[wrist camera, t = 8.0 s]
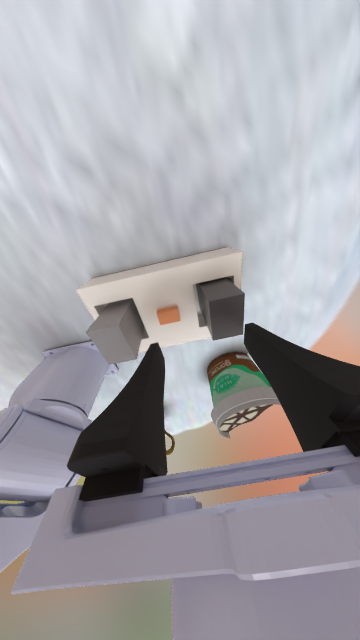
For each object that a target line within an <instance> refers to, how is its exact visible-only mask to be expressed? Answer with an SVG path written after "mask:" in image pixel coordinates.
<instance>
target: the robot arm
mask: <svg viewBox="0 0 360 640" xmlns="http://www.w3.org/2000/svg"><path fill="white" fill-rule="evenodd" d="M92 343H93V342H92V341H89V342H84V343H79V344H75V345H70V346H65V347H61V348H56V349H51V350H46V351H44V352H43V353H42V355H43V356H44V357H45V359H44V360H43V361H42V362H41V363H40V364H39V365H38V366H37V367H36V368H35V369H34V370H33V371H32V372H31V373H30V375H29V376H28V377H27V378H26V379H25V380H24V381H23V382H22V383H21V384H20V385H19V386H18V387H17V388H16V390H15V391H14V393H13V394H12V396H11V398H10V401H9V406H8V408H5V409H3V410H2V411H0V500H8V501H25V502H23V503H18V504H8V503H0V572H1V571H3V570H4V569H5V568H6V567H7V566H8V565H9V564H10V563H12V562H13V561H14V560H15V559H16V558H18V557H19V556H20V555H21V554H22V553H23V552H25V551H26V550H27V549H28V548H29V547H30V549H29V551H28V553H27V556H26V558H25V560H24V563H23V565H22V567H21V570H20V572H19V574H18V577H17V579H16V581H15V584H14V586H13V588H12V594H19V593H26V592H34V591H42V590H50V589H59V588H69V587H80V586H91V585H102V584H103V585H104V584H115V583H126V582H138V581H148V580H160V579H171V586H172V587H171V589H172V590H171V592H172V593H171V595H172V640H360V366H356V365H353V364H349V363H346V362H342V361H339V360H336V359H333V358H330V357H326V356H324V355H321V354H318V353H315V352H312V351H310V350H307V349H305V348H302V347H300V346H298V345H295V344H293V343H291V342H289V341H287V340H284V339H282V338H280V337H278V336H277V335H275V334H273V333H271V332H269V331H267V330H265V329H264V328H262V327H260V326H258V325H256V324H254V323H249V324H245V334H244V344H245V346H246V348H247V350H248V352H249V354H250V355H251V357H252V358H253V360H254V361H255V363H256V364H257V366H258V367H259V369H260V370H261V371H262V373H263V374H264V376H265V377H266V379H267V380H268V382H269V384H270V385H271V387H272V389H273V391H274V392H275V394H276V396H277V398H278V400H279V402H280V404H281V406H282V407H283V409H284V411H285V413H286V415H287V417H288V419H289V421H290V423H291V425H292V428H293V430H294V432H295V434H296V436H297V438H298V441H299V443H300V445H301V447H302V450H303V452H301V453H295V454H289V455H283V456H277V457H272V458H265V459H260V460H253V461H247V462H241V463H236V464H230V465H224V466H218V467H212V468H206V469H200V470H194V471H188V472H182V473H176V474H171V475H166V474H167V460H166V448H165V430H164V406H163V400H164V382H165V360H164V357H163V354H162V351H161V349H160V346H159V343H158V342H157V343H152V344H150V346H149V348H148V350H147V352H146V354H145V356H144V358H143V359H142V361H141V363H140V365H139V366H138V368H137V370H136V371H135V373H134V374H133V376H132V377H131V379H130V380H129V382H128V383H127V384H126V386H125V387H124V388H123V390H122V391H121V392H120V393H119V394H118V396H117V397H116V398H115V399H114V400H113V402H112V403H111V404H110V405H109V406H108V407H107V408H106V409H105V410H104V411H103V412H102V413H101V414H100V415H99V416H98V417H97V418H96V419H95V420H94V421H93V422H92V420H90V419H88V415H89V413H90V411H91V408H92V406H93V403H94V401H95V399H96V396H97V394H98V391H99V389H100V387H101V384H102V382H103V380H104V377H105V375H108V374H113V373H117V372H118V368H117V367H116V365H115V364H110V365H109V364H108V362H107V361H106V360H105V358H104V357H103V355H102V354H101V353H100V351H99V350H98V348H97V347H96V346H95V344H94V343H93V344H92ZM91 422H92V423H91ZM325 471H329V472H327V473H323V474H320V475H316V476H313V477H309V480H308V481H307V482H306V483H304V484H302V485H300V486H299V490H300V491H299V492H292V493H284V494H277V495H270V496H265V497H258V498H252V499H246V500H241V501H236V502H231V503H226V504H220V505H216V506H211V507H206V508H202V504H201V502H197V501H196V499H195V497H175V498H168V497H172V496H178V495H184V494H190V493H196V492H203V491H209V490H215V489H221V488H227V487H233V486H239V485H246V484H252V483H258V482H264V481H270V480H277V479H283V478H289V477H295V476H301V475H307V474H313V473H320V472H325ZM81 476H84V477H86V478H85V481H84V485H75V484H76V483H77V481H78V480H79V478H80V477H81Z"/></svg>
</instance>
